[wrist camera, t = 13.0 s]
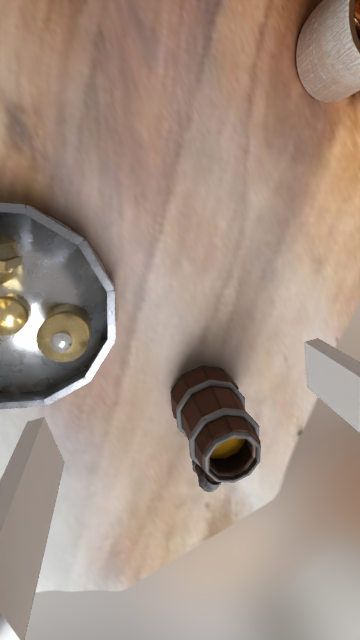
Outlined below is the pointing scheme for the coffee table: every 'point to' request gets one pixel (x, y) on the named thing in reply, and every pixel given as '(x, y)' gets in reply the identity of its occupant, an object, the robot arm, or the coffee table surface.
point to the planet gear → (7, 258)
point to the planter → (330, 51)
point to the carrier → (51, 311)
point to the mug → (216, 427)
